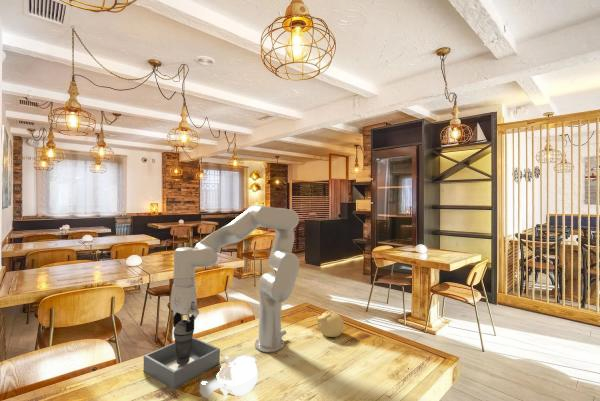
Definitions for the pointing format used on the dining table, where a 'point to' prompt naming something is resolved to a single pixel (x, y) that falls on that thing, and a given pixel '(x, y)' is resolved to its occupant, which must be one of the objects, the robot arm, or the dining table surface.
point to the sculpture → (330, 324)
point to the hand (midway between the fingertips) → (183, 328)
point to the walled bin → (175, 375)
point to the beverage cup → (182, 342)
